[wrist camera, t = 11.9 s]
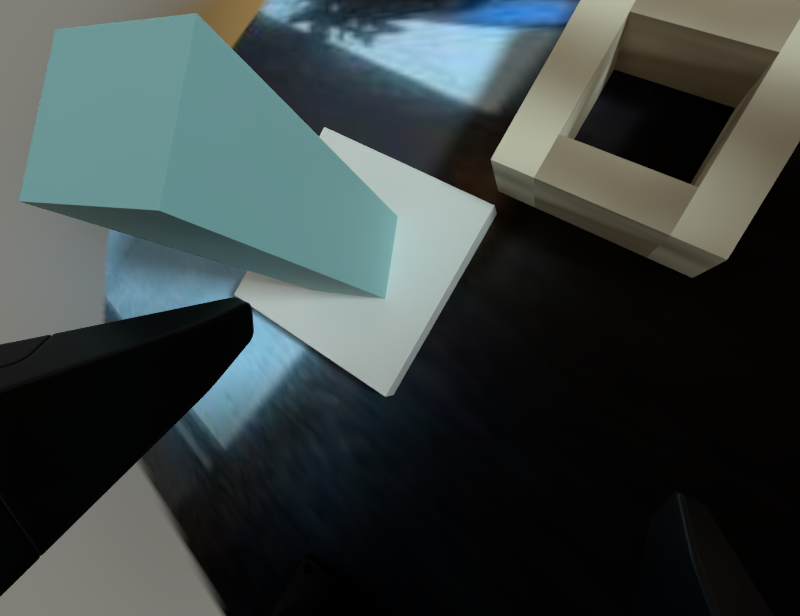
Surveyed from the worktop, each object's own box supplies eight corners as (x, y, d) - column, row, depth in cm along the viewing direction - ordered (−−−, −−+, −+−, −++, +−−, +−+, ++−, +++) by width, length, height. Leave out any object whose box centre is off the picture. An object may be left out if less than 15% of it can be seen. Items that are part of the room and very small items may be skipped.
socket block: (692, 277, 18) (727, 259, 15) (498, 191, 21) (490, 159, 17) (811, 81, 17) (875, 16, 14) (595, 20, 20) (607, -46, 17)
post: (385, 298, 21) (158, 210, 8) (311, 289, 22) (19, 201, 10) (397, 216, 21) (196, 13, 9) (323, 212, 22) (55, 29, 10)
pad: (393, 394, 21) (385, 396, 20) (248, 297, 24) (234, 294, 23) (496, 213, 21) (494, 205, 20) (334, 138, 24) (324, 126, 23)
